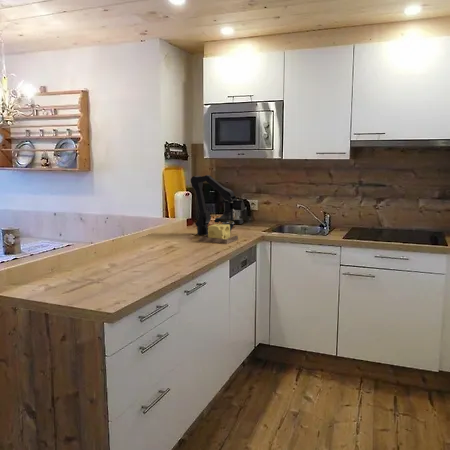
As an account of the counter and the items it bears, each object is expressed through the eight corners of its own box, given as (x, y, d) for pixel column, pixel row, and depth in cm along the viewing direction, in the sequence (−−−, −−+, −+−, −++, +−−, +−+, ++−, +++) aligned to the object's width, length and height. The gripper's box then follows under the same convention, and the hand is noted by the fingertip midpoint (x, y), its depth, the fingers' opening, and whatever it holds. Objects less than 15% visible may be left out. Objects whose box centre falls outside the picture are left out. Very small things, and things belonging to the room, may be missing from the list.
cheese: (222, 243, 270) (222, 226, 268) (207, 241, 275) (207, 225, 273) (230, 240, 279) (230, 224, 277) (215, 238, 284) (215, 223, 282)
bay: (199, 241, 276) (198, 237, 276) (210, 237, 288) (210, 233, 288) (227, 243, 266) (226, 239, 266) (237, 239, 278) (237, 235, 278)
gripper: (209, 210, 284) (210, 234, 286) (235, 212, 275) (235, 236, 277) (218, 208, 293) (219, 231, 296) (243, 210, 284) (243, 234, 287)
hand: (229, 233), depth 289 cm, fingers closed
